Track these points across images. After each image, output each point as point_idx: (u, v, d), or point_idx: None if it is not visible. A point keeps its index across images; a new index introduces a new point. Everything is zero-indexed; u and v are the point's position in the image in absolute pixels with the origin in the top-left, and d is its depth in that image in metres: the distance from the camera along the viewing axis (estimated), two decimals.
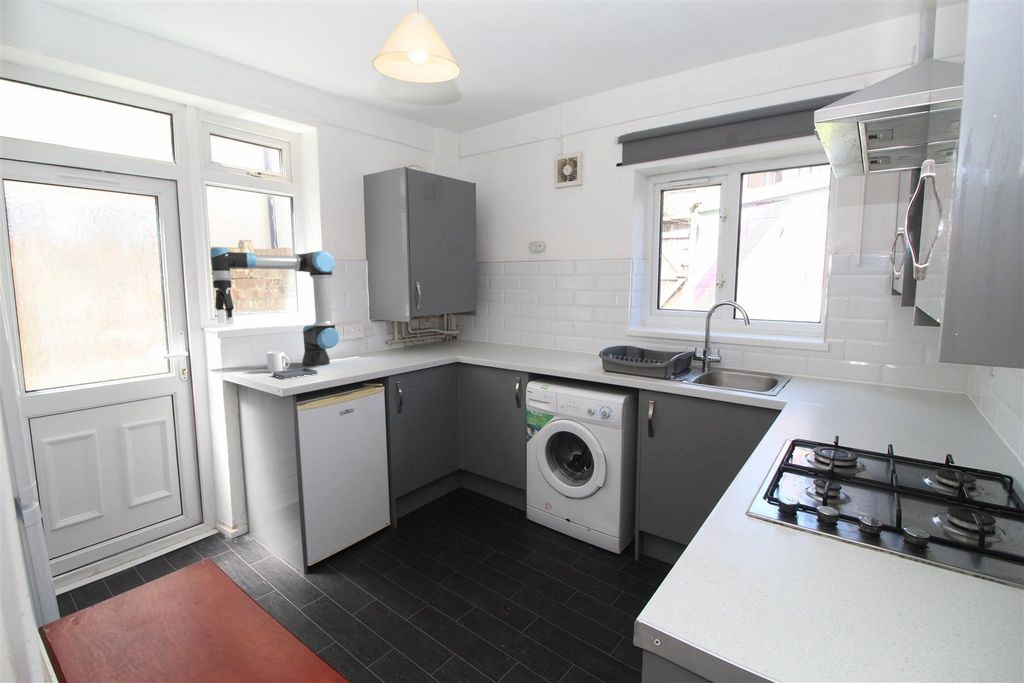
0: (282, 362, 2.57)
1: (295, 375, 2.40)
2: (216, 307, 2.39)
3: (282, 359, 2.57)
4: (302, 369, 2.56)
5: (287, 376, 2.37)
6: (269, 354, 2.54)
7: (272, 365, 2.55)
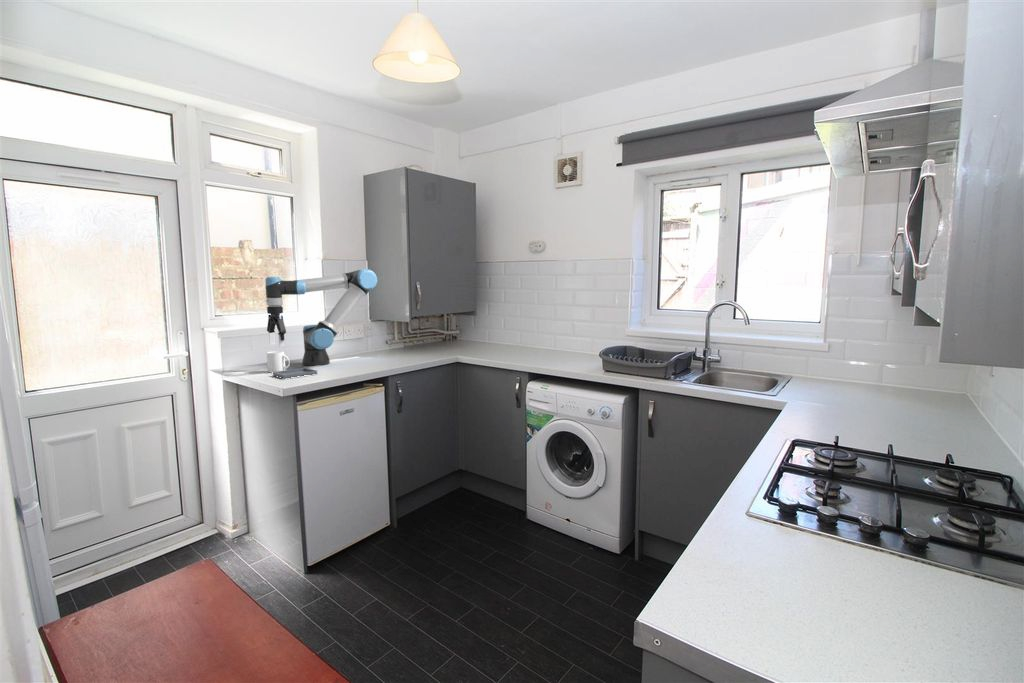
0: (282, 362, 2.57)
1: (295, 375, 2.40)
2: (268, 330, 2.62)
3: (282, 359, 2.57)
4: (302, 369, 2.56)
5: (287, 376, 2.37)
6: (269, 354, 2.54)
7: (272, 365, 2.55)
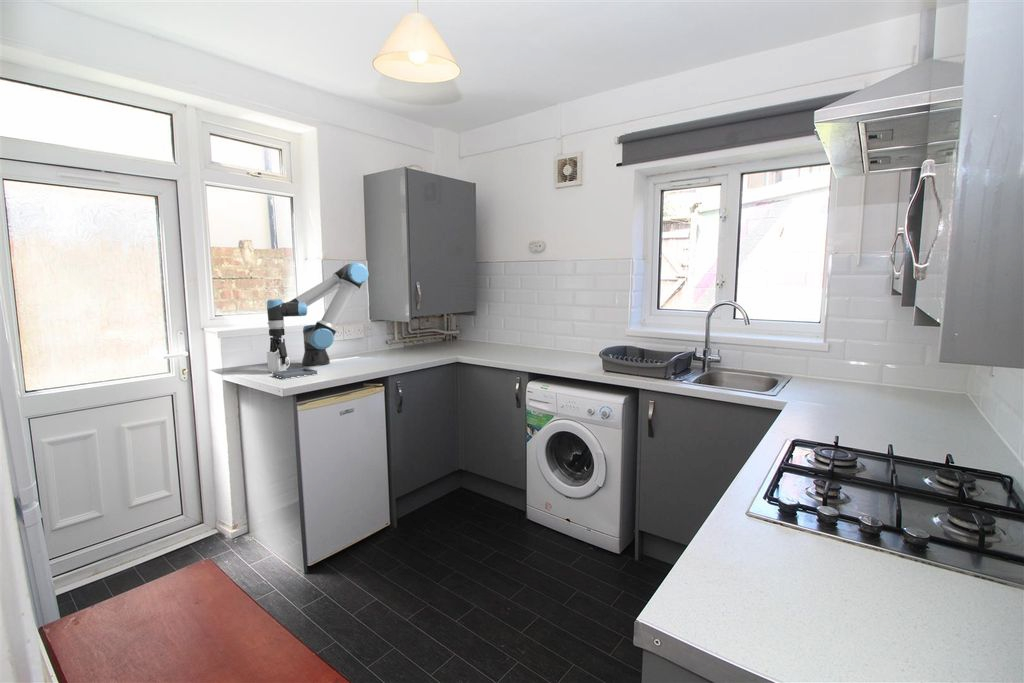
0: None
1: (295, 375, 2.40)
2: None
3: None
4: (302, 369, 2.56)
5: (287, 376, 2.37)
6: (270, 354, 2.54)
7: (272, 365, 2.54)
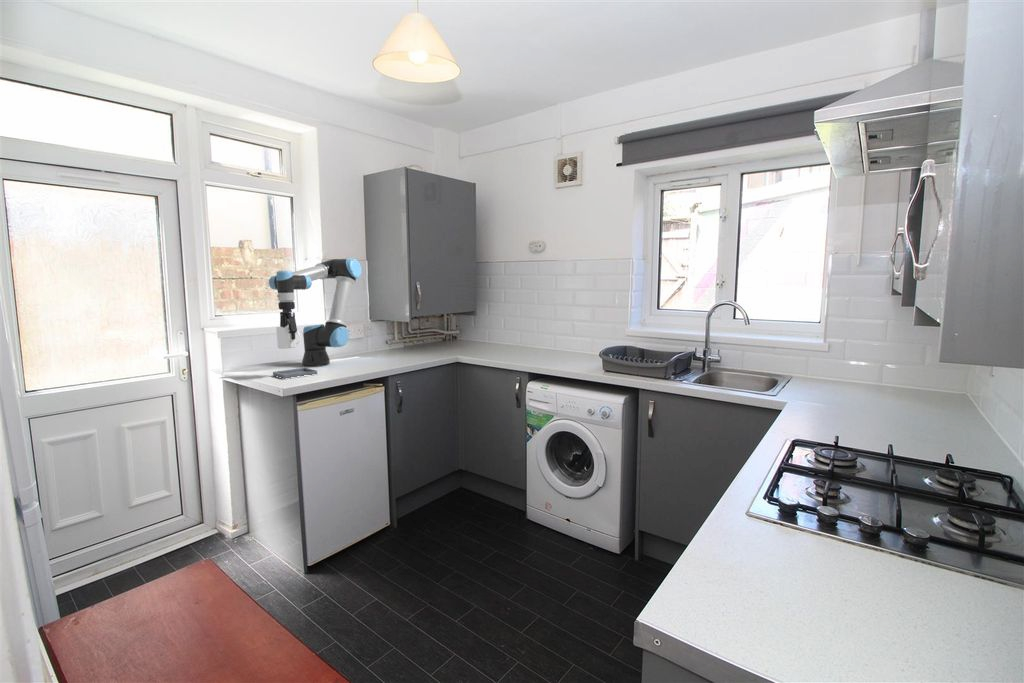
0: None
1: (295, 375, 2.40)
2: None
3: None
4: (302, 369, 2.56)
5: (287, 376, 2.37)
6: (279, 329, 2.40)
7: (282, 340, 2.41)
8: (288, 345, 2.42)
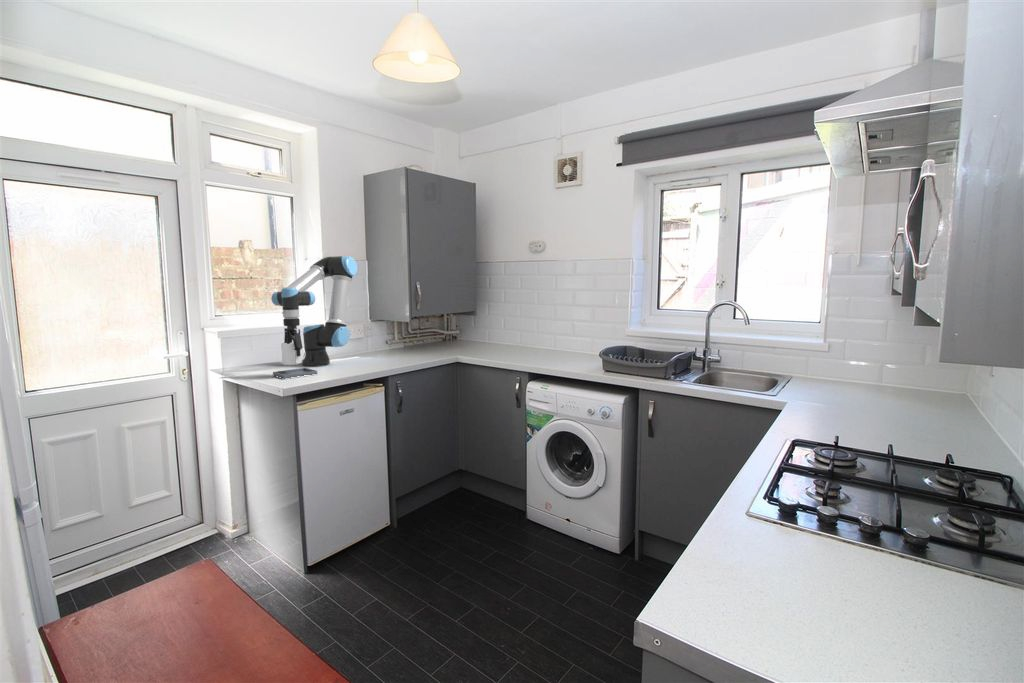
0: None
1: (295, 375, 2.40)
2: None
3: None
4: (302, 369, 2.56)
5: (287, 376, 2.37)
6: (284, 345, 2.41)
7: (287, 357, 2.41)
8: (293, 362, 2.43)
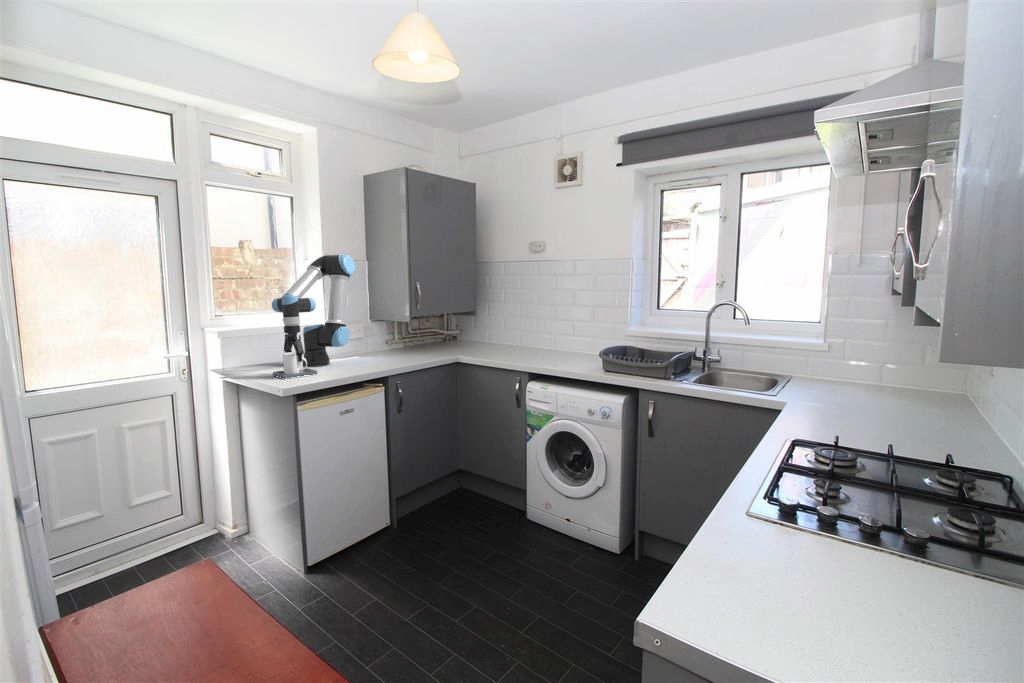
0: None
1: (295, 375, 2.40)
2: (284, 350, 2.51)
3: None
4: None
5: (287, 376, 2.37)
6: (286, 356, 2.42)
7: (289, 367, 2.43)
8: (295, 372, 2.44)
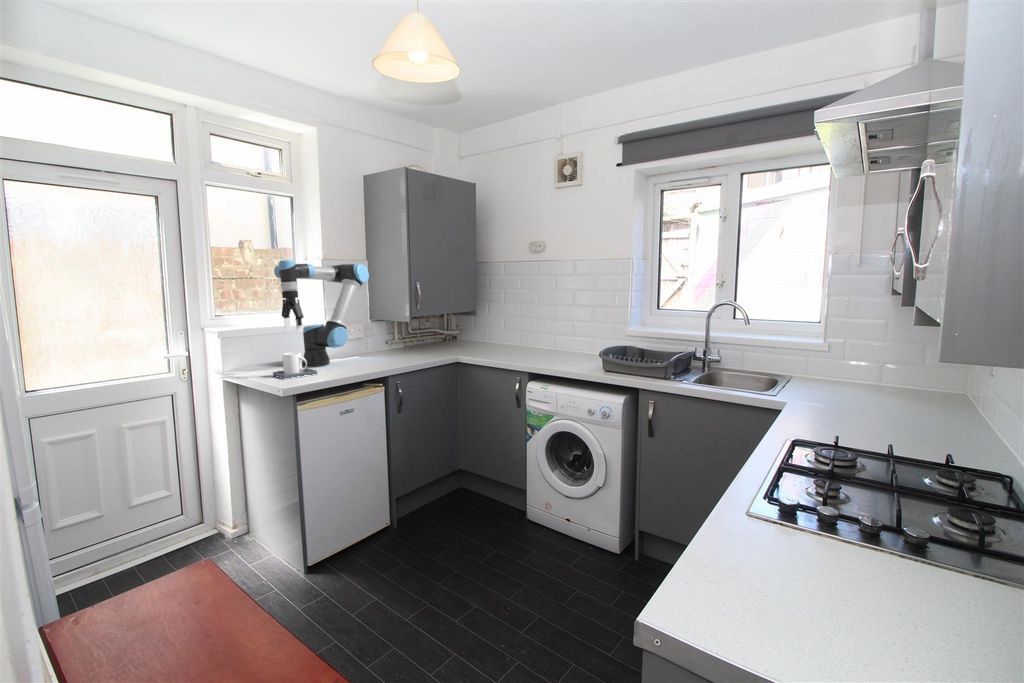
0: (299, 364, 2.46)
1: (295, 375, 2.40)
2: (282, 315, 2.55)
3: (299, 361, 2.46)
4: None
5: (287, 376, 2.37)
6: (286, 356, 2.42)
7: (289, 367, 2.43)
8: (295, 372, 2.44)
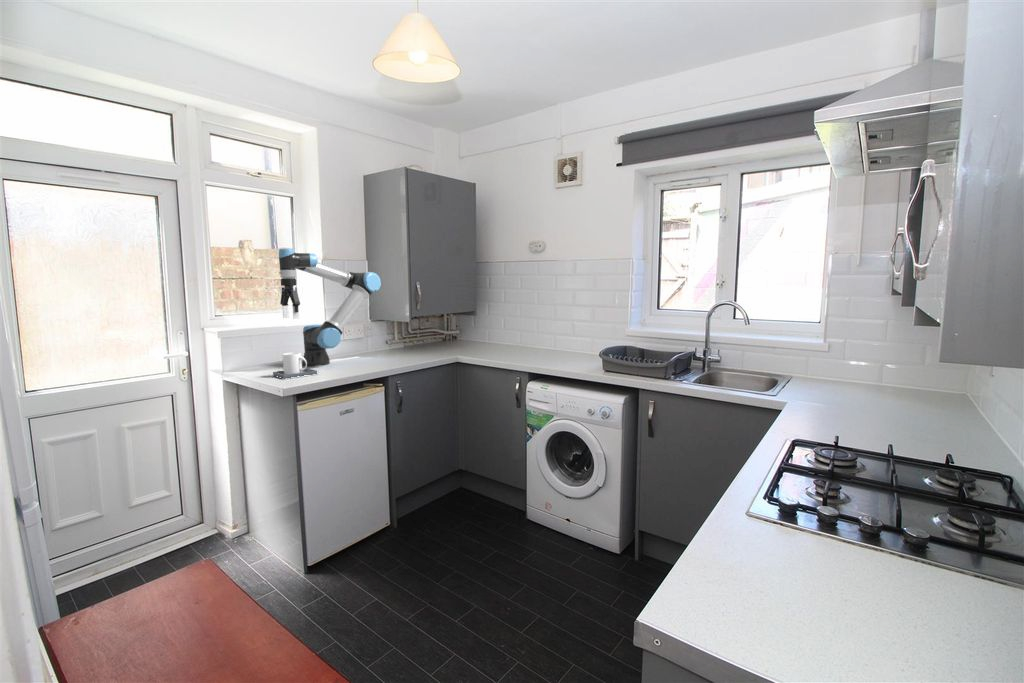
0: (299, 364, 2.46)
1: (295, 375, 2.40)
2: (281, 303, 2.61)
3: (299, 361, 2.46)
4: None
5: (287, 376, 2.37)
6: (286, 356, 2.42)
7: (289, 367, 2.43)
8: (295, 372, 2.44)
